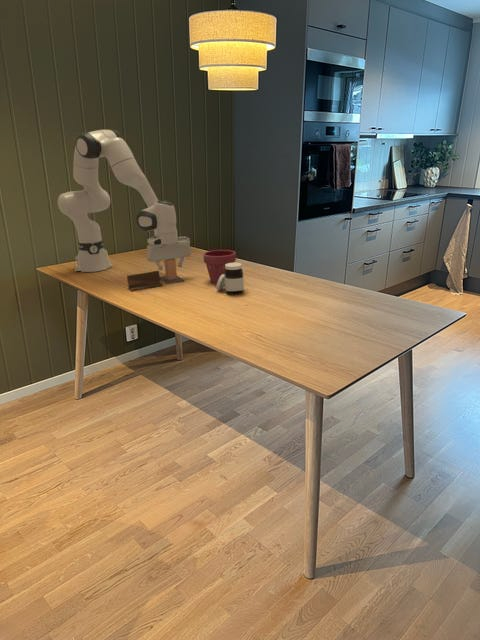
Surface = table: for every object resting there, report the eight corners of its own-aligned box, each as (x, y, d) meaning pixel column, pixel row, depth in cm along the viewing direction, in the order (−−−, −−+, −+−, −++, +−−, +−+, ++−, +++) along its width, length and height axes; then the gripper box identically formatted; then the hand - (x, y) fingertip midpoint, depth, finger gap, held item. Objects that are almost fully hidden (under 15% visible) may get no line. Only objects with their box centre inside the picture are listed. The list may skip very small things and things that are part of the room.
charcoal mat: (159, 278, 220) (158, 276, 220) (175, 275, 223) (175, 274, 223) (167, 284, 210) (167, 282, 210) (184, 281, 213) (184, 279, 213)
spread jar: (244, 295, 190) (243, 267, 186) (216, 296, 190) (215, 268, 186) (242, 286, 202) (241, 260, 198) (216, 288, 201) (214, 261, 197)
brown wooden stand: (128, 288, 205) (126, 275, 203) (159, 283, 211) (157, 270, 209) (131, 291, 201) (129, 277, 199) (162, 286, 207) (161, 272, 205)
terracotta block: (165, 278, 217) (164, 258, 214) (174, 276, 219) (172, 257, 216) (168, 280, 214) (167, 260, 210) (177, 278, 215) (175, 259, 212)
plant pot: (226, 274, 221) (225, 247, 216) (242, 281, 210) (241, 252, 205) (199, 280, 214) (197, 252, 209) (215, 287, 202) (213, 257, 198)
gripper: (186, 234, 217) (189, 264, 222) (143, 240, 208) (147, 270, 213) (192, 236, 212) (194, 266, 216) (148, 242, 203) (151, 273, 208)
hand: (170, 268), depth 215 cm, fingers open, 8 cm apart
